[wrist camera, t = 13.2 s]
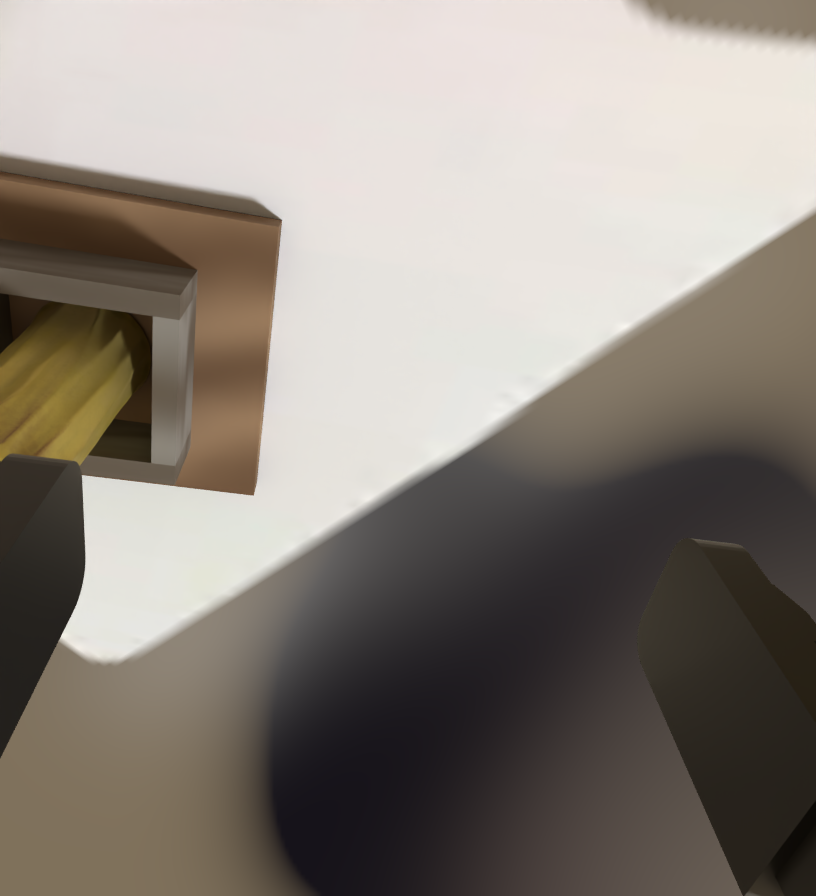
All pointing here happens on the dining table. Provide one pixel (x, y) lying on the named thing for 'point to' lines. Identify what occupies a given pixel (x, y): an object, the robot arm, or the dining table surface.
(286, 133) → the dining table surface
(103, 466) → the dock
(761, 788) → the robot arm
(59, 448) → the vase
